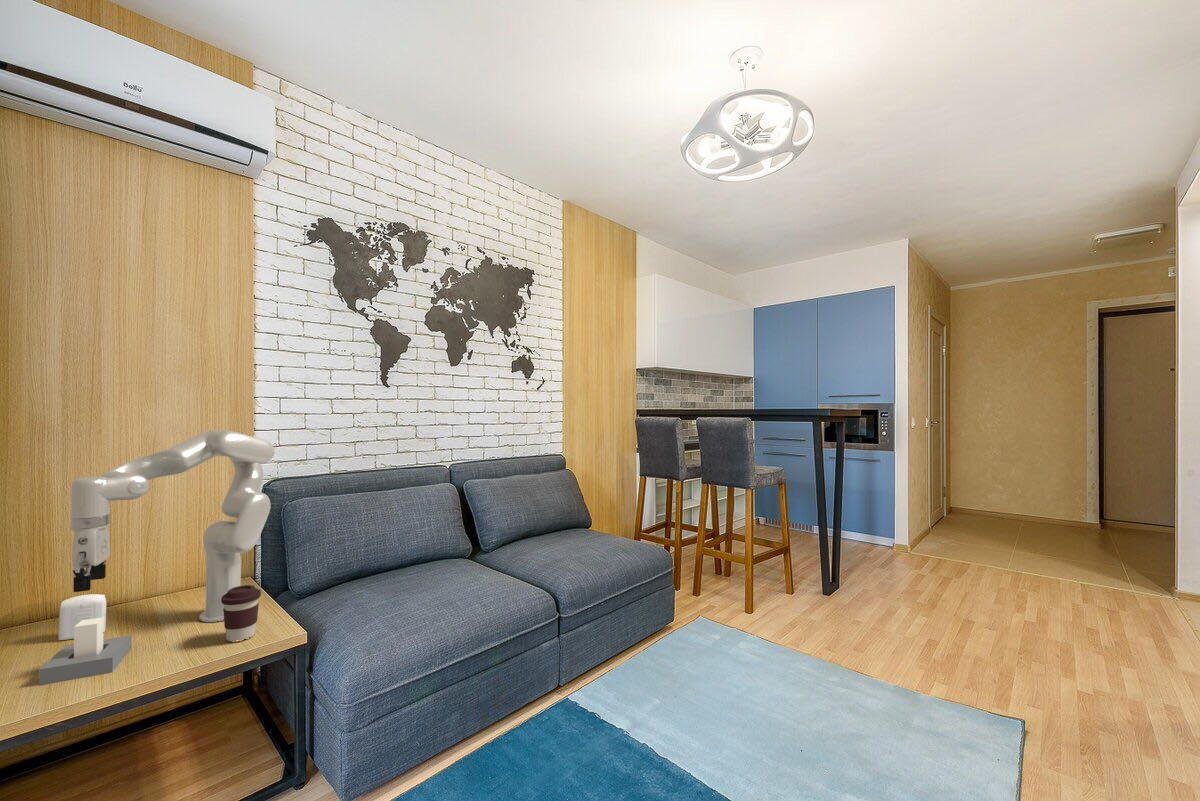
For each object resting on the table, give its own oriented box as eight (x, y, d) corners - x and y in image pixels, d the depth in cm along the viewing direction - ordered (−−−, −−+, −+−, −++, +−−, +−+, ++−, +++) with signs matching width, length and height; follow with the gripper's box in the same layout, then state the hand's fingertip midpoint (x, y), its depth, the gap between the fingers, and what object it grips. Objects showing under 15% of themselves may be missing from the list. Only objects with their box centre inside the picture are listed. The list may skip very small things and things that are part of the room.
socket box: (131, 648, 147) (131, 635, 147) (112, 672, 135) (112, 657, 135) (65, 659, 141) (65, 645, 141) (39, 685, 128) (39, 669, 128)
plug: (103, 660, 141) (103, 617, 141) (96, 667, 137) (97, 623, 137) (80, 663, 139) (81, 620, 139) (73, 671, 135) (74, 626, 135)
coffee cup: (254, 627, 162) (254, 580, 162) (264, 636, 156) (265, 588, 156) (216, 638, 154) (217, 589, 154) (226, 648, 148) (227, 597, 148)
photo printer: (107, 629, 159) (108, 589, 159) (103, 634, 156) (104, 594, 156) (61, 637, 154) (61, 596, 154) (56, 642, 150) (57, 601, 150)
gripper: (95, 528, 132) (95, 593, 132) (120, 514, 147) (120, 572, 147) (56, 531, 128) (55, 598, 128) (86, 516, 144) (85, 576, 144)
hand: (90, 584), depth 138 cm, fingers open, 9 cm apart
